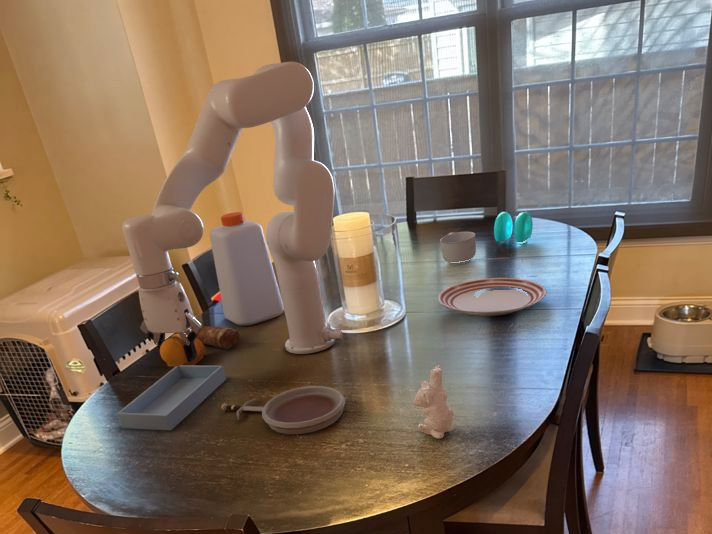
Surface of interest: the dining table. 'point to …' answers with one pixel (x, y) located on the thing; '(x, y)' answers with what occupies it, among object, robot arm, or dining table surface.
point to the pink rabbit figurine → (434, 406)
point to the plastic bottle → (244, 271)
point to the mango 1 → (173, 351)
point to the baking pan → (171, 397)
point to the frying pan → (298, 409)
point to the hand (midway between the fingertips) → (180, 358)
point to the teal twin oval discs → (505, 227)
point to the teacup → (458, 247)
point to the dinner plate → (491, 296)
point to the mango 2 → (200, 352)
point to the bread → (218, 336)
